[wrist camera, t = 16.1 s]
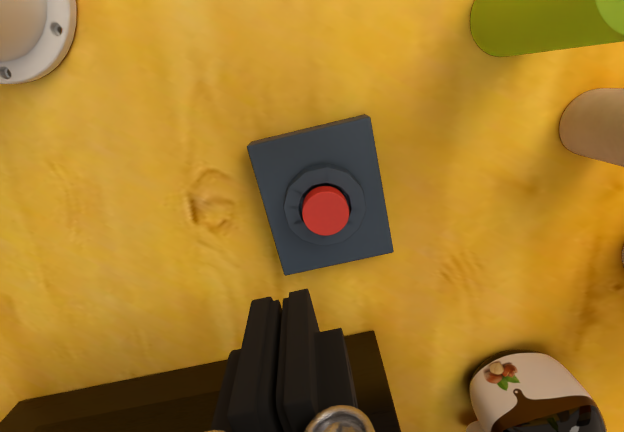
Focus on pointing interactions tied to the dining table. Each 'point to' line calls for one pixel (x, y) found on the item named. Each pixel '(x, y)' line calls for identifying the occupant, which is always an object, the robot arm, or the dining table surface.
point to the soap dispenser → (544, 25)
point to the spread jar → (530, 396)
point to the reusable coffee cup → (623, 256)
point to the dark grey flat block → (323, 172)
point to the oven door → (185, 399)
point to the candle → (595, 125)
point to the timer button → (325, 210)
